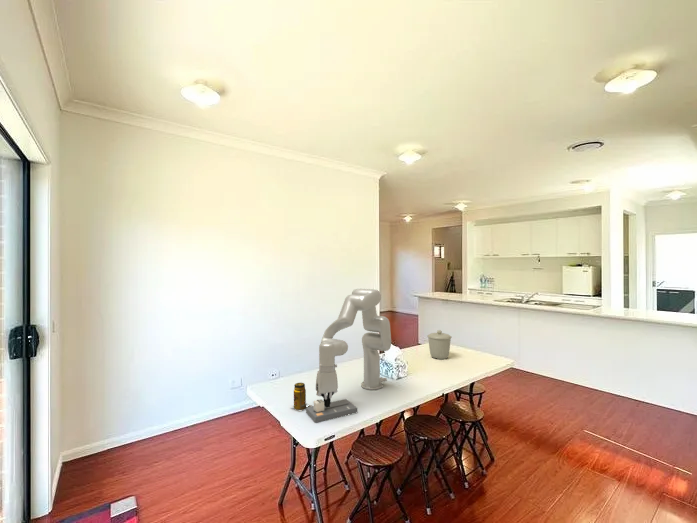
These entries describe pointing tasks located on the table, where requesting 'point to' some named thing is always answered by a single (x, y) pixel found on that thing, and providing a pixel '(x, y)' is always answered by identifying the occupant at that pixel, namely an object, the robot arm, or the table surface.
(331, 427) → the table surface
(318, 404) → the fader knob
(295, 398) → the condiment
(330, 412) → the fader console
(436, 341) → the canister
